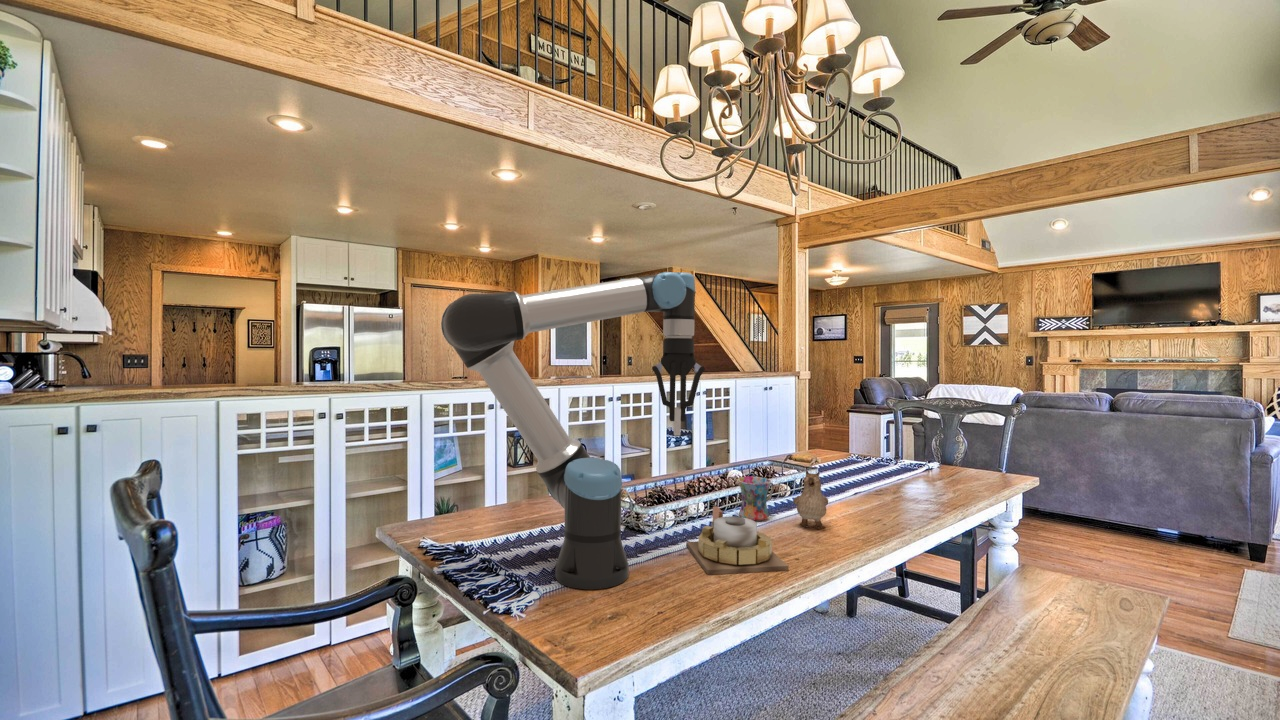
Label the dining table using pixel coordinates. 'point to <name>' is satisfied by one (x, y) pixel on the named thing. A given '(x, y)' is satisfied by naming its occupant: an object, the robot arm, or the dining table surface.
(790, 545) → the dining table surface
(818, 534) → the dining table surface
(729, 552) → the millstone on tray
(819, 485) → the figurine
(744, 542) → the housing
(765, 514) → the mug
